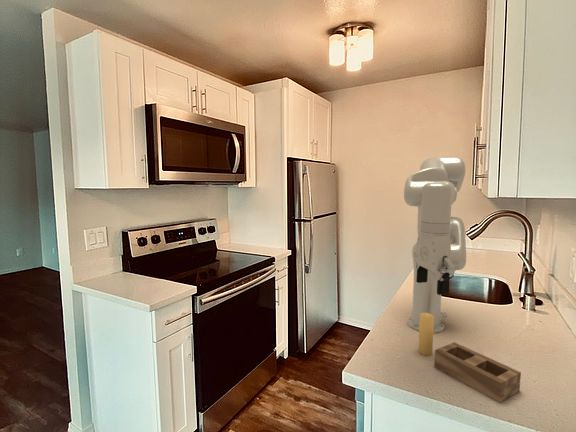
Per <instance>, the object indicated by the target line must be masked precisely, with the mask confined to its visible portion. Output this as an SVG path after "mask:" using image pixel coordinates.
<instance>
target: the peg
mask: <svg viewBox="0 0 576 432" xmlns="http://www.w3.org/2000/svg"><path fill="white" fill-rule="evenodd" d="M433 327H434V315H432V314H430V313H420V324H419V331H418V345H417V346H418V348H417V352H418V353H419V354H420V355H423V356H425V357H426V356H432V354H433V346H434V345H433V343H434V342H433V341H434V333H433Z"/></svg>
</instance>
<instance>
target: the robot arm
mask: <svg viewBox="0 0 576 432" xmlns="http://www.w3.org/2000/svg"><path fill="white" fill-rule="evenodd" d="M465 176H466V164H465V161H464V160H463V158H461V157H459V156H435V157H428V158H426V159H425V160H423V161H422V163H421V165H420V168H419V171H417V172H414V173H412V174H409V176H408V177H407V178H406V180H405V183H404V189H403V199H404V202H405V204H406V205H408V206H410V207H417V226H416V227H417V228H416V229H417V239H416V242H415V244H414V245H413V246H412V249H411V253H412V263H413V285H412V287H413V288H412V307H411V308H412V312H411V314H412V315H411V316H410V317H409V318H408V319H407V322H406V323H407V325H408V326H409V327H410V328H411V329H413V330H415V331H418V332H419V324H420V313H430V314H432V315H434V327H433V334H437V333H442V332H444V330H445V324H444V323H443V322H442V319H444V318H446V317H448V314H447V313H446V312H445V311H443V312H441V309H442V307H441V306H442V295H449V294H450V283H451V281H452V278H454V274H455V273H456V271H460V270H463V269H465V267H466V263H467V243H466V229H465V228H466V227H465V223H464V221H463V219H461V218H460V217H457V216H451V215H452V205H454V203H455V202H456V201H457V197H458V193H459V192H460V190H461V189H462V185H463V183H464V179H465ZM443 273H444V274H443Z"/></svg>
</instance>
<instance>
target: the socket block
mask: <svg viewBox="0 0 576 432" xmlns="http://www.w3.org/2000/svg"><path fill="white" fill-rule="evenodd" d="M433 364H434V367H435V368H437V369H438V370H440V371H442V372H443V373H445V374H446V375H449V376H451V377H453V378H455V379H457V380H458V381H460V382H462V383H463V384H466V385H467V386H469V387H470V388H473V389H474V390H477V392H480V393H482V394H483V395H484V396H485V395H486V397H489V398H491V399H492V400H495V401H497V402H498V403H502V402H503V400H504V401H505V400H507V399H508V398H510V397H512V396H514V395H516V394H517V393H518V392H520V386H521V375H522V372H521V371H519V370H517V369H515V368H512V367H510V366H508V365H505V364H503V363H501V362H499V361H497V360H495V359H493V358H490V357H488V356H486V355H484V354H481V353H479V352H477V351H475V350H473V349H470V348H468V347H466V346H463V345H461V344H459V343H457V342H456V341H454V342H451V343H449V344H446V345H445V346H441V347H438V348H436V349H435V350H434V363H433Z"/></svg>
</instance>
